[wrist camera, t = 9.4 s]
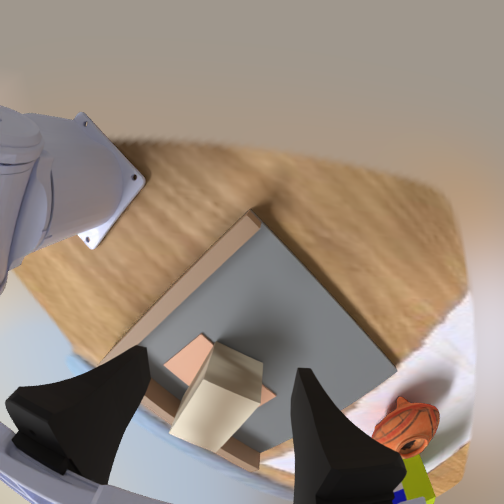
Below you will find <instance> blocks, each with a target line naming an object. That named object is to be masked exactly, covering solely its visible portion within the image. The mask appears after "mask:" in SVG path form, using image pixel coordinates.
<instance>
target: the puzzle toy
mask: <svg viewBox="0 0 504 504" xmlns="http://www.w3.org/2000/svg"><path fill="white" fill-rule="evenodd" d="M403 461H404V464H405V467H406V470H407V474H406V476H405V478H404V479H403V481H402V482H401V483H400V484H399V485H398V486H397V487H396V488H395V490H394V491H393V492H394V495H395V498H394V499H393V500H392V502H393V504H398V503H400V502H404V501H408V500H412V499H415V498H419V497H424V498H425V501H426V504H434V501H435V497H436V496H435V494H434V491H433V488H432V485H431V483H430V480H429V478H428V475H427V472H426V470H425V467H424V465H423V462H422V460H421V457H420V455H419V454H418V455H416V456H414V457H411V458H408V459H403Z"/></svg>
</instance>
